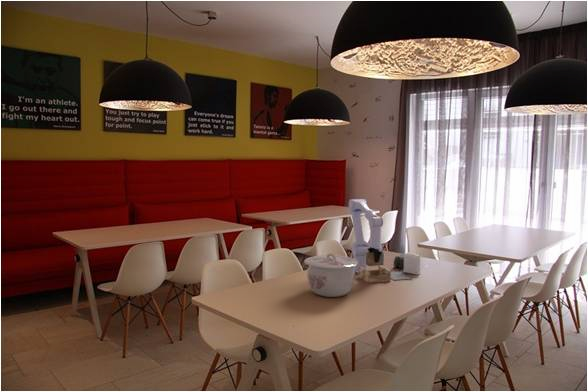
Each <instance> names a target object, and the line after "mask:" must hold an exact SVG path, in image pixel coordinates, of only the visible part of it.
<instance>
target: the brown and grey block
mask: <svg viewBox="0 0 588 392" xmlns="http://www.w3.org/2000/svg"><path fill="white" fill-rule="evenodd" d="M384 253H385V252H382V254H381V256H380V259H379V262H377V263H375V261H374V254H373V252H366V265H367V266H368V267H375V266H376V267H377V266H378V267H379V265H380V266H384V258H385V257H384V256H385V255H384Z"/></svg>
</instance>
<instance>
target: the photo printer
mask: <svg viewBox="0 0 588 392" xmlns="http://www.w3.org/2000/svg"><path fill="white" fill-rule="evenodd" d="M403 272H404V273H408V274H411V275H416V276H419V275H420V274H421V255H419V254H417V253H415V252H405V255H404V269H403Z"/></svg>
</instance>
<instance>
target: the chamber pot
mask: <svg viewBox="0 0 588 392" xmlns="http://www.w3.org/2000/svg"><path fill="white" fill-rule="evenodd" d="M303 263H304V264H305V265H307V266H308V268H307V269H306V277H307V283H308V285H309V286H310V289H311V290H312V292H313V293H314V294H316V295H318V296H320V297H325V298H339V297H342V296H346V295H347V294H348V293H349V292H350V290H351V289H352V288H353V286H354V283H355V279H356V272H355V270H354V268H353V267H354V266H356V265H358V261H357V260H355V259H353V257H348V256H344V255H337V254H333V253H332V252H331V253H328V254H320V255H314V256H310V257H306V258H305V259H304V261H303Z"/></svg>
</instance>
